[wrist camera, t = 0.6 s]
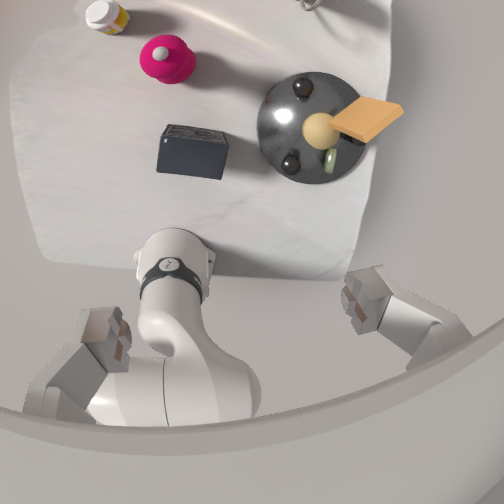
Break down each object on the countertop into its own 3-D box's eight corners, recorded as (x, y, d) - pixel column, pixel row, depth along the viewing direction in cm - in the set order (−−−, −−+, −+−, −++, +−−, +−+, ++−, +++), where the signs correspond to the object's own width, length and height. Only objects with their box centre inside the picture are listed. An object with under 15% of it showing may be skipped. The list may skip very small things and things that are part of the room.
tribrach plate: (351, 185, 58) (360, 192, 54) (250, 177, 53) (254, 184, 50) (371, 87, 45) (382, 88, 41) (263, 62, 40) (269, 61, 37)
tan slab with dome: (315, 153, 50) (348, 177, 39) (294, 126, 46) (324, 143, 35) (367, 112, 46) (410, 126, 35) (350, 84, 42) (392, 90, 31)
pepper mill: (203, 69, 39) (205, 58, 23) (169, 92, 40) (149, 95, 24) (182, 40, 35) (171, 12, 19) (147, 62, 36) (115, 50, 20)
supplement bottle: (123, 4, 28) (106, -11, 20) (135, 24, 31) (120, 11, 23) (97, 22, 28) (75, 11, 20) (108, 41, 32) (88, 33, 23)
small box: (162, 156, 47) (154, 174, 39) (167, 123, 44) (159, 133, 35) (217, 163, 50) (221, 182, 42) (224, 131, 47) (230, 142, 38)
